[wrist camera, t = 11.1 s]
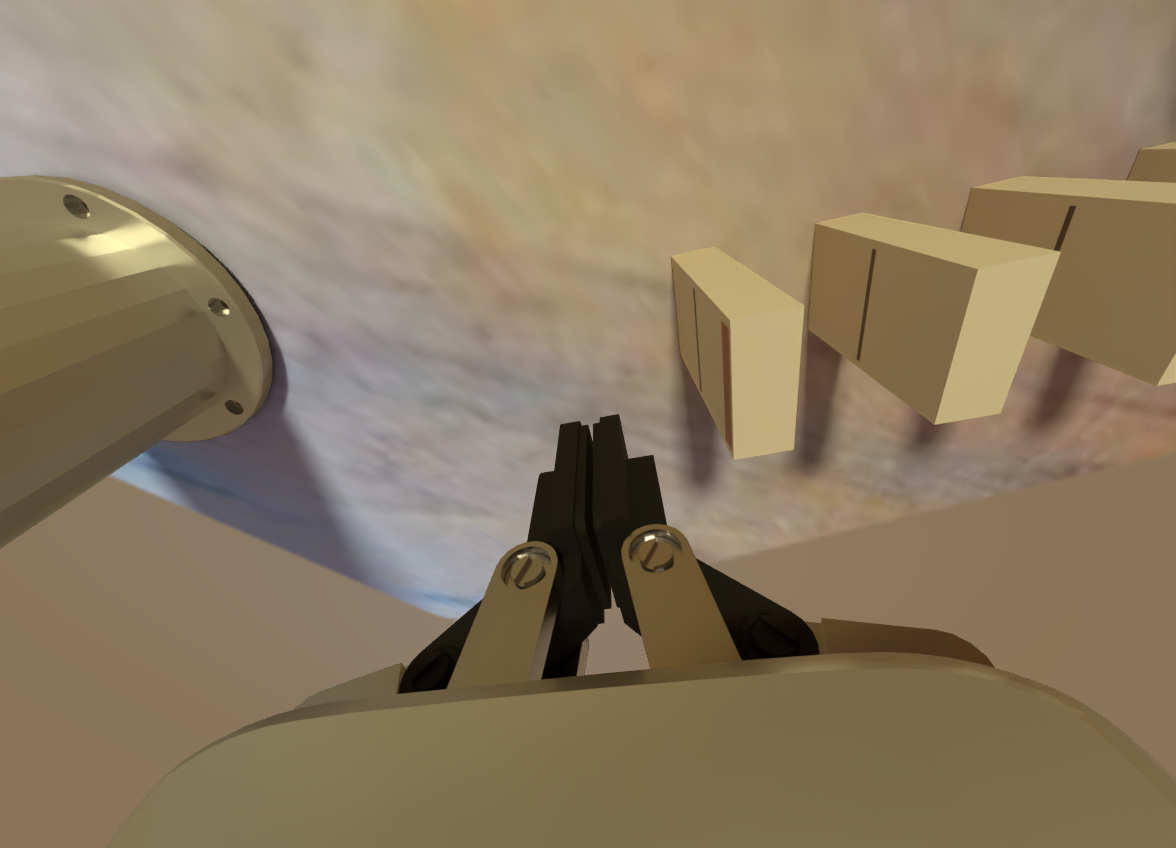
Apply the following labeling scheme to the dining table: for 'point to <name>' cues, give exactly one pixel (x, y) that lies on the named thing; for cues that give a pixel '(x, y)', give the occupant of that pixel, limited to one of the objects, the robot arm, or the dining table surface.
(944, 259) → the domino
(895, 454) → the dining table surface
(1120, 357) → the domino
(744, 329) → the domino
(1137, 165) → the domino
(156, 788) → the robot arm
